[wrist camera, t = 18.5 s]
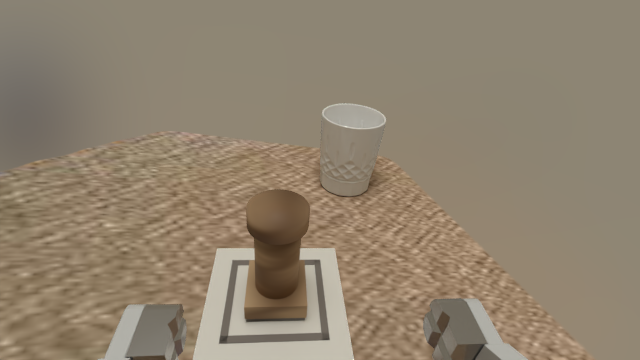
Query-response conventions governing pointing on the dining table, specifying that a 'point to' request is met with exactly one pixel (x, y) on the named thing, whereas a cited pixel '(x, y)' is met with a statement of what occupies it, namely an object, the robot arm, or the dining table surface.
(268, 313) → the stamp
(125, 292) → the dining table surface
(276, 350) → the print card
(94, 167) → the dining table surface
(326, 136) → the white cup
